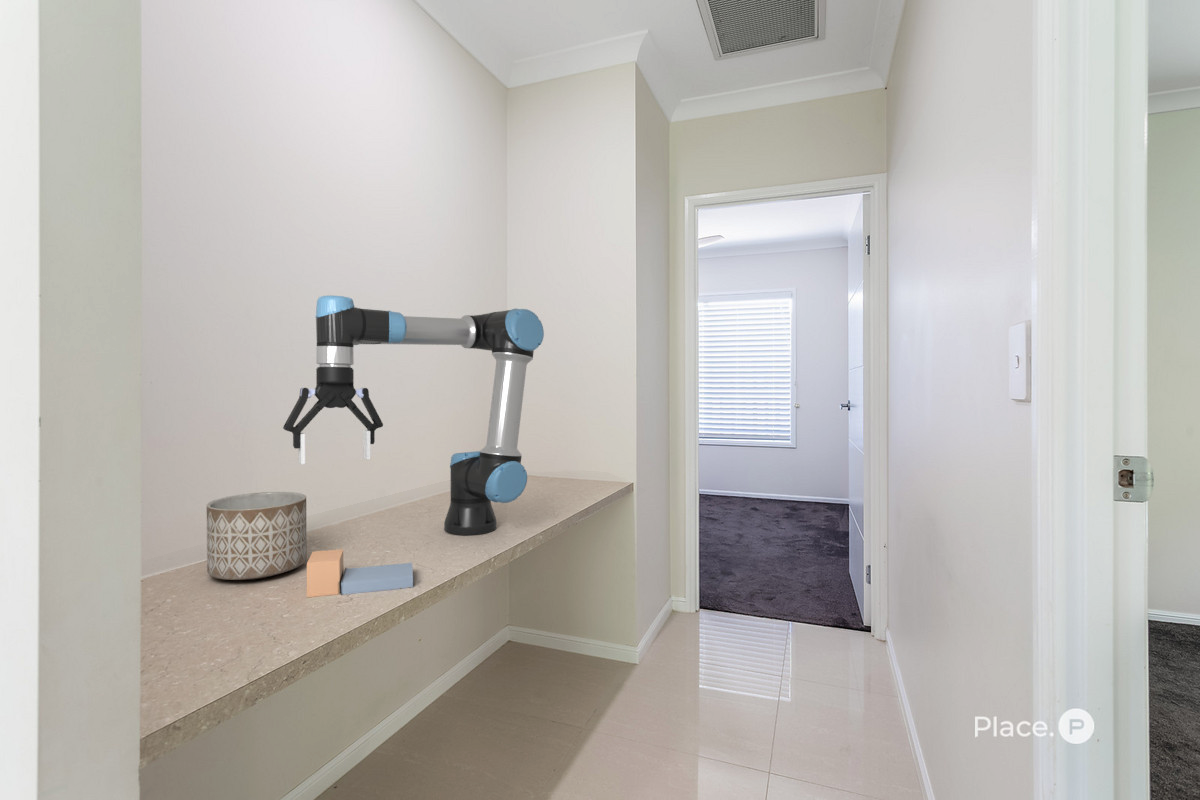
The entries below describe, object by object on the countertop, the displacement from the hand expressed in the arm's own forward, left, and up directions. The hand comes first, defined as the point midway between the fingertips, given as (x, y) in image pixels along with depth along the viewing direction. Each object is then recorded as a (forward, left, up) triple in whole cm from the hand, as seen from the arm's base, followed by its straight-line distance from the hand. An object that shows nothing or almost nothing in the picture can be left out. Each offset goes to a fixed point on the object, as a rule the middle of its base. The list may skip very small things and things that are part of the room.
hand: (335, 461), depth 127 cm
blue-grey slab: (-9, +9, -26) cm, 29 cm away
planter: (+17, -7, -26) cm, 32 cm away
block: (+1, +9, -26) cm, 27 cm away
